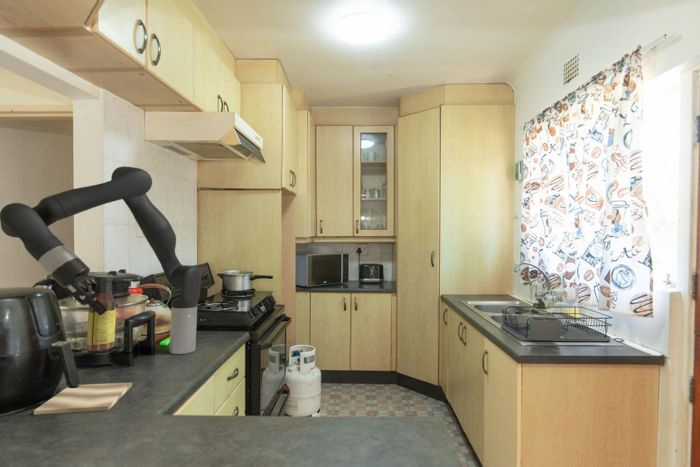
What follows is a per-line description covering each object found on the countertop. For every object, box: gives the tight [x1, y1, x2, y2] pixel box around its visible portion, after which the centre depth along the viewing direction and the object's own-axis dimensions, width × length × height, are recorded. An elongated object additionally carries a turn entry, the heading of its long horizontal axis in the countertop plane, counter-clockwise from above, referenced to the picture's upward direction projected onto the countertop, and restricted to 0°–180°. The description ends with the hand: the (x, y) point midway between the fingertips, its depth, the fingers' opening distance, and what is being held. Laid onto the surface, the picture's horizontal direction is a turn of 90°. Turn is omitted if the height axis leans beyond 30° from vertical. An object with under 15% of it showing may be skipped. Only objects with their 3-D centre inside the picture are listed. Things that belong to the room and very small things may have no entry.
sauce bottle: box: [86, 275, 117, 352], centre depth 100 cm, size 6×6×20 cm
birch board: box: [33, 382, 133, 416], centre depth 97 cm, size 16×16×1 cm
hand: (109, 310), depth 100 cm, fingers closed on sauce bottle, 6 cm apart
